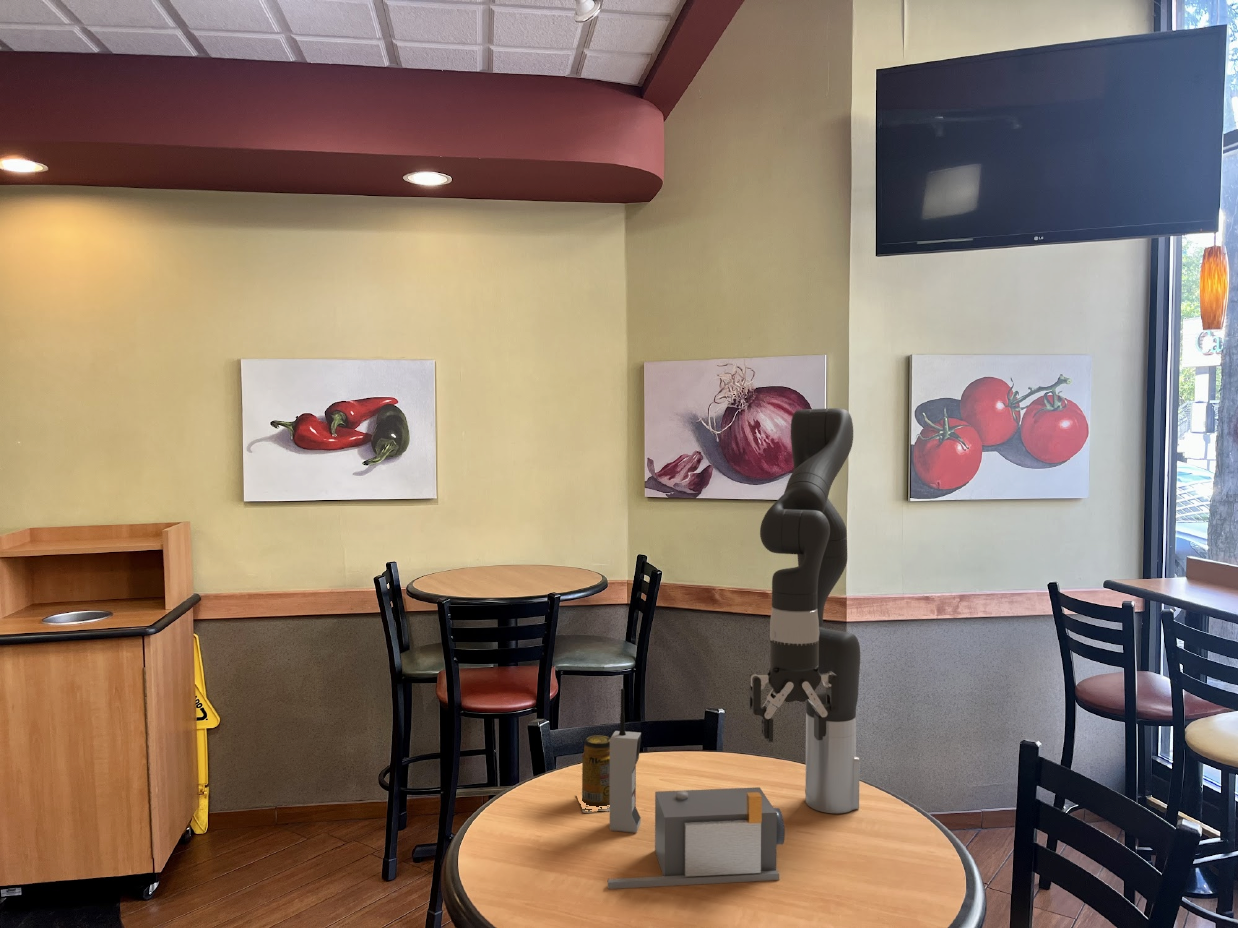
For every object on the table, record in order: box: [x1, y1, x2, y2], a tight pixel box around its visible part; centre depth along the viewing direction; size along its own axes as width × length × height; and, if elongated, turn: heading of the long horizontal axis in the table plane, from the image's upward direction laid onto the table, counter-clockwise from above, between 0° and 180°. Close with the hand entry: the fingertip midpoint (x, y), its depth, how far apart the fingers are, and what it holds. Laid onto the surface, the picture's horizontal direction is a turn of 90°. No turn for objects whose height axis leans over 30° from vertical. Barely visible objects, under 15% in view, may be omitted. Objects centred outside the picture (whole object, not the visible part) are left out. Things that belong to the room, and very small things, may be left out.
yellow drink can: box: [579, 734, 611, 814], centre depth 162 cm, size 7×8×12 cm
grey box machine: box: [607, 786, 786, 890], centre depth 138 cm, size 29×12×11 cm, turn 96°
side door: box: [684, 792, 762, 877], centre depth 133 cm, size 12×2×12 cm, turn 96°
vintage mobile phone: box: [609, 688, 642, 834], centre depth 151 cm, size 4×5×25 cm
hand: (793, 739), depth 134 cm, fingers open, 7 cm apart
